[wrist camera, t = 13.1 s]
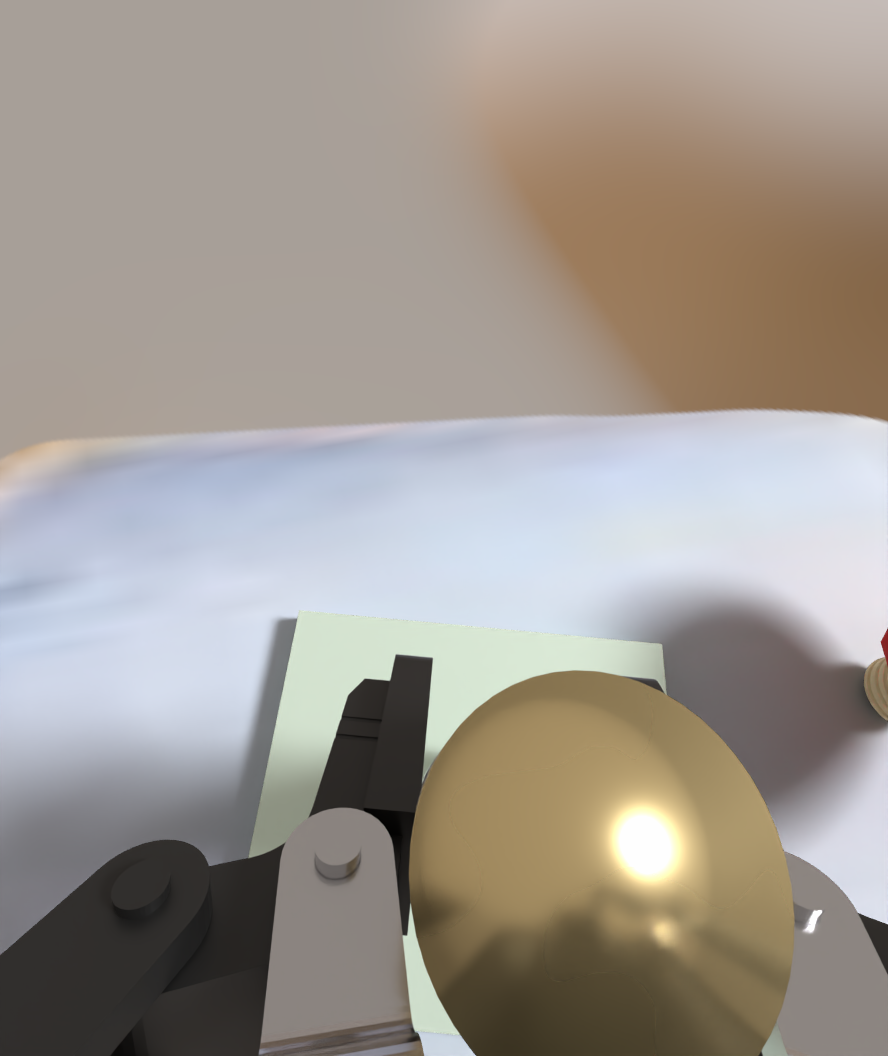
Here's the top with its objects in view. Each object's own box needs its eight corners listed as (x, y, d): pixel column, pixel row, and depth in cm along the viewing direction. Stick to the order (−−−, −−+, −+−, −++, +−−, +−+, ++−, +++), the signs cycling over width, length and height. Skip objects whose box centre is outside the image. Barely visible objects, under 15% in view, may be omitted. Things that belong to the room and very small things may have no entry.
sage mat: (651, 649, 21) (661, 643, 20) (684, 1042, 16) (699, 1057, 15) (304, 617, 21) (299, 610, 20) (227, 998, 16) (216, 1012, 15)
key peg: (530, 751, 17) (760, 689, 6) (526, 878, 16) (833, 1155, 4) (423, 739, 17) (431, 652, 6) (409, 864, 16) (382, 1102, 4)
